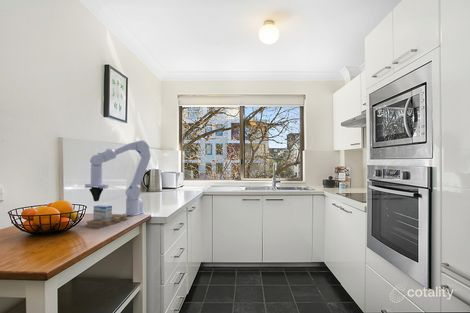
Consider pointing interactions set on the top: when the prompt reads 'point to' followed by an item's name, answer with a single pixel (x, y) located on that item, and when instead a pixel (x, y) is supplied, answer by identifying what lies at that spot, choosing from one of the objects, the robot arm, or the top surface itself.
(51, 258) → the top surface
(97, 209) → the medicine box
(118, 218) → the walnut channel
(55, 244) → the top surface
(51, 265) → the top surface
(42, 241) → the top surface
